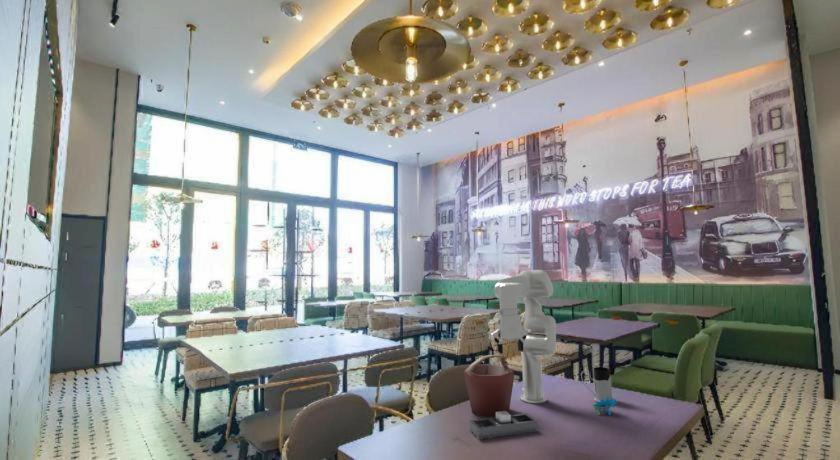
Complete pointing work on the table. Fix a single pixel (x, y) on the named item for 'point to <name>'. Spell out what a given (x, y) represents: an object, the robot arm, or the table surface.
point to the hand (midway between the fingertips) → (510, 352)
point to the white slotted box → (503, 417)
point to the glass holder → (601, 383)
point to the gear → (604, 405)
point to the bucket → (489, 386)
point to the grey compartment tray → (503, 426)
